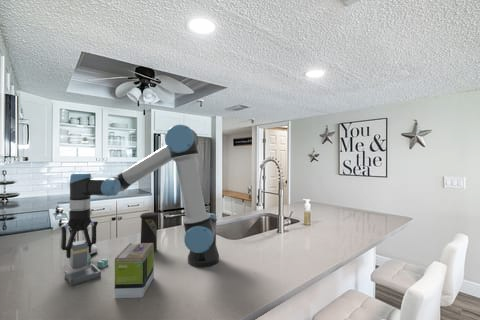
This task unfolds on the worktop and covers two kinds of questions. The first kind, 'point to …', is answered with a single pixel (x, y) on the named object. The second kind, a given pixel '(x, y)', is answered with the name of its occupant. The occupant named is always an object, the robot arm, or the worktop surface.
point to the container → (149, 228)
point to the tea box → (134, 270)
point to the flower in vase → (93, 247)
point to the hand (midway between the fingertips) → (78, 262)
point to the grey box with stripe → (79, 254)
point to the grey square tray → (83, 275)
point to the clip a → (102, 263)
